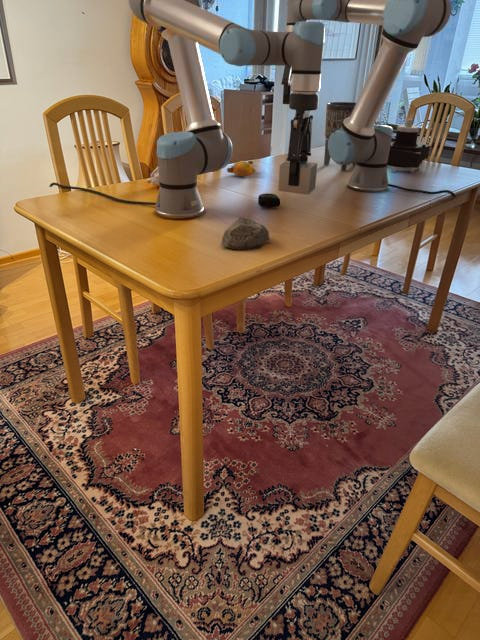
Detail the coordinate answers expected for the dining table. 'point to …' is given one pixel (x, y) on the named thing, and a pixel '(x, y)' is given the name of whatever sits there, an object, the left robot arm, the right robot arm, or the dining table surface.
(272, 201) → the tape measure
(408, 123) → the mechanical component
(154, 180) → the figurine
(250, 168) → the toy
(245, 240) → the rock
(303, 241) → the dining table surface
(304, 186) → the block
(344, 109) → the planter
